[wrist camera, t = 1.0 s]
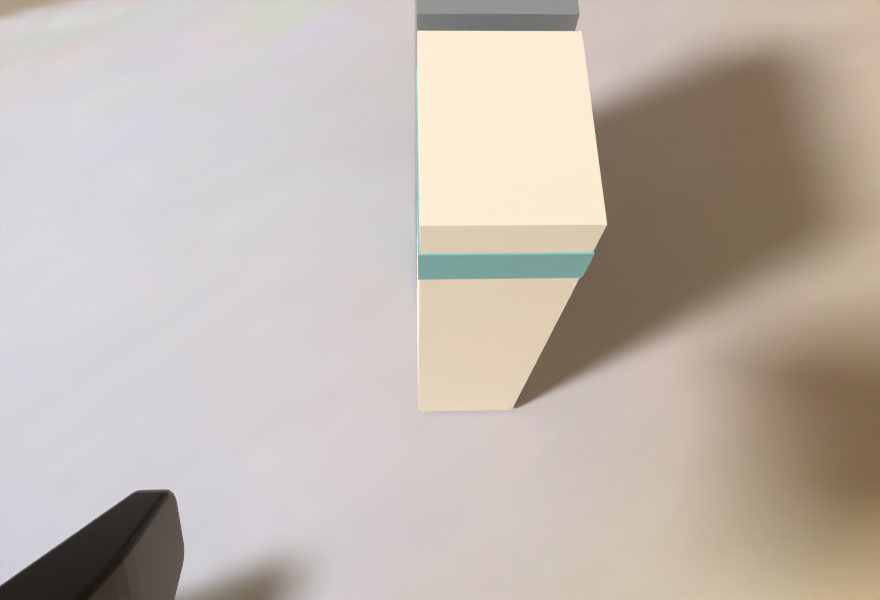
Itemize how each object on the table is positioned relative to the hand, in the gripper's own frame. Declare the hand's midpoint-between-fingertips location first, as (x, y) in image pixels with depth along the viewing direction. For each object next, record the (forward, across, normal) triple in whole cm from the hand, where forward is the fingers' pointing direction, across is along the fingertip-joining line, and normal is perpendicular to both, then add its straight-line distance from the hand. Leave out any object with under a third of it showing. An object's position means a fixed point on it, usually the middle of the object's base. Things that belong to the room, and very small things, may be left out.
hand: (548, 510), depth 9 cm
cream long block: (+14, 0, +5) cm, 15 cm away
